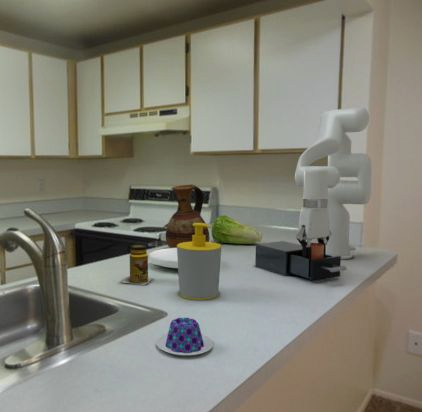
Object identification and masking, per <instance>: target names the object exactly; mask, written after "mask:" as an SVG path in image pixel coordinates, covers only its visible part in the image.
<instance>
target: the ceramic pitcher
mask: <svg viewBox="0 0 422 412" xmlns="http://www.w3.org/2000/svg"><path fill="white" fill-rule="evenodd" d="M171 190H172V191H174V193H175V194H176V197H177V208H176V211H175V212H174V213H173V214H172V216H171V217H170V218H169V220H168V223H167V225H166V228H165V229H166V230H165V241H166V245H167V246H168V248H177V245H178V244H179V243H183V242H192V235H195V226H193V224H194V223H205V224H207V223H206V221H205V219H204V218H203V217H202V215H201V213H202V210H203V204H204V193H203V190H202V189H201V188H200V187H198V186H196V185H195V184H182V185H181V184H179V185H176V186H172V187H171ZM193 191H194V194H195V195H194V196H195V198H194V199H195V200H194V201H195V202H194V206H193V207H192V203H191V202H192V201H191V200H192V199H191V196H192V193H193ZM203 235H205V236H206V242H210V230H209V228H208V227H203Z"/></svg>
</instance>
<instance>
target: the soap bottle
mask: <svg viewBox="0 0 422 412" xmlns="http://www.w3.org/2000/svg"><path fill="white" fill-rule="evenodd" d="M205 223H206V222H205ZM205 223H194V224H193V226H195V235H192V242H183V243H179V244H178V245H177V258H178V268H177V274H178V286H179V287H178V289H179V291H178V292H179V296H180V297H183V298H185V299H188V300H196V301H206V300H213V299H215V298H217V297H218V296H219V290H220V289H219V287H220V276H221V275H220V274H221V273H220V272H221V260H222V259H221V258H222V257H221V256H222V245H221V243H218V242H211V241H209V242H206V236H205V235H203V227H208V229H212V225H210V224H208V223H206V224H205Z"/></svg>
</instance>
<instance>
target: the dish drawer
mask: <svg viewBox="0 0 422 412" xmlns="http://www.w3.org/2000/svg"><path fill="white" fill-rule="evenodd" d="M341 260H342V259H341V257H340V256H334V257H333V256H331V255H325V257H324V258H320V259H313V260H311V259H308V258H304V257H302V252H295V253H288V261H287V272H290V273H293V274H295V275H296V276H300V277H303V278H306V279H309V281H310V282H317V281H323V280H329V279H333V278H335V279H336V278H340V277H341V272H343V271H346V270H347V266H346V265H341V264H342V262H341Z"/></svg>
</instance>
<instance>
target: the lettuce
mask: <svg viewBox="0 0 422 412" xmlns="http://www.w3.org/2000/svg"><path fill="white" fill-rule="evenodd" d="M211 237H212V240H214V241H216V243H218V244H234V245H235V244H237V245H248V244H258V243H261V242H262V238H263V232H262V231H259V230H257V229H255V228H253V227H251V226H249V225H247V224H243V223H242V222H240V221H238V220H235V219H234V218H232V217H230V216H228V215H226V214H225V215H219V216H217V217H216V219H214V221H213V223H212V225H211Z"/></svg>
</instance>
